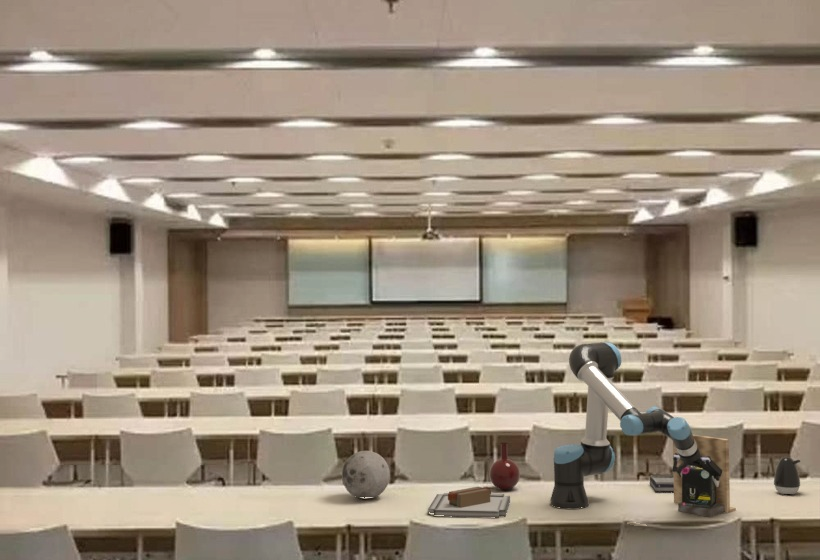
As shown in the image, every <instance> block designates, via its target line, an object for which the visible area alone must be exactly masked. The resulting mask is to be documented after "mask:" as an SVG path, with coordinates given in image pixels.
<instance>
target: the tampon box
mask: <svg viewBox="0 0 820 560" xmlns="http://www.w3.org/2000/svg"><path fill="white" fill-rule="evenodd" d="M714 504H716V485H715V483H714V481H713V478H712V475H711V474H710V473H708V472H707V471H705V470H704V469H702V468H699V467H697V466H690V465H687V466H686V467H685V468H684V469H682V505H684V506H693V507H702V508H711V507H712V506H713V505H714Z"/></svg>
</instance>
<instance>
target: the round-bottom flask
mask: <svg viewBox="0 0 820 560" xmlns="http://www.w3.org/2000/svg"><path fill="white" fill-rule="evenodd" d="M508 444H509V443H508V442H500V449H501V450H500V452H501V453H500V457H501V458H499V459H497V460H496V461H495V462H494V463H493V462H492V464H491V466H490V469H489V479H490V480H489V481H490V482H491V484H492V485H493V486H494V487H495V488H497V489H499V490H502V491H507V490H510V489H513V488H514V487H516V486H517V484H518V483H519V482H520V478H521V471H520V468H519V466H518V464H517V463H516V462H515V461H513V460H511V459H509V458H508Z"/></svg>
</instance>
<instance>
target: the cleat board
mask: <svg viewBox="0 0 820 560" xmlns="http://www.w3.org/2000/svg"><path fill="white" fill-rule="evenodd" d="M693 437H694V439H695V442H696V444H697V446H698V449H699V451H700V455H701V456H702V457H704V458H707V456H710V458H711V460H712V461H713V462H714V463H715V464H716V465H717V466H718V467H719V468H721V469H722V474H721V476H720V479H719V481H720V482H719V486H718V487H716V504H714V505H713V506H712V507H711V508H702V507H693V506H684V505H682V477H680V476H679V474H678V473H677V472H676V471H675V472H673V471H672V473H673V474H672V475H674V493H673V504H677V510H678V512H681V513H682V512H683V513H686V514H687V513H688V514H693V515H698V516H703V517H707V518H711V517H715V516H718V514H719V515H722V514H728V512H729V513H732V512H735V510H737V509H736V507H733V506H731V496H730V493H731V492H730V488H731V487H730V444H729V443H730V439H729V438H723V437H722V438H720V437H712V436H707V435H706V436H705V435H698V434H693ZM675 453H677V454H678V451H677V449H676V447H675V445H674V442H673V441H672V458H673V457H674V454H675ZM678 455H679V454H678ZM682 462H683V461H682V460H681V459H679V460H678V462H677V467H679V466H680V464H681V463H682ZM673 464H674V460H673V461H672V465H673ZM700 464H701V463H700ZM731 511H732V512H731ZM724 512H725V513H724Z"/></svg>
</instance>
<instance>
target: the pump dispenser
mask: <svg viewBox="0 0 820 560" xmlns="http://www.w3.org/2000/svg"><path fill="white" fill-rule="evenodd" d="M798 463H801V460H800V459H795V460H793V458H791V457H789V456H784V457H782V458H780V460H779V462H778V463H777V465H776V467H775V472H774V477H773V485H774V488H775V490H776V491H777V492H778V493H779V494H781V495H784V494H793V495H795V494H797V493H798V491H799V489H800V487H801V480H800V474H799V471H798V468H797V465H796V464H798Z"/></svg>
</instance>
